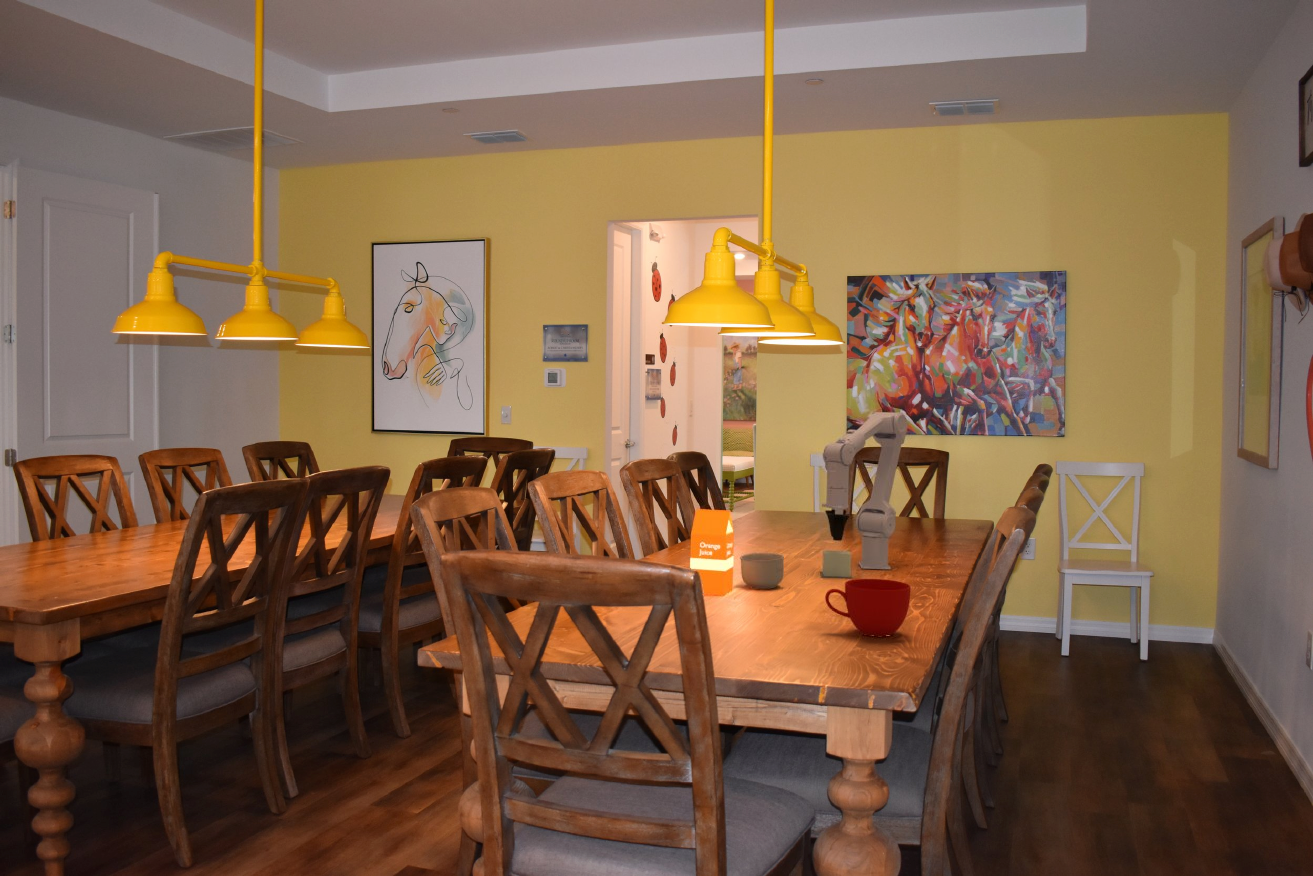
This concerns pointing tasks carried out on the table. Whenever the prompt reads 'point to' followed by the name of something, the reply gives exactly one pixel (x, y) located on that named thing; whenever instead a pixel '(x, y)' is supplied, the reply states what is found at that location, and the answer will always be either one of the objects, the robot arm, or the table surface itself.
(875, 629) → the ceramic cup
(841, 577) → the thin dark grey panel
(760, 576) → the teacup
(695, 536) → the orange juice
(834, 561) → the beige cuboid
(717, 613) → the table surface
